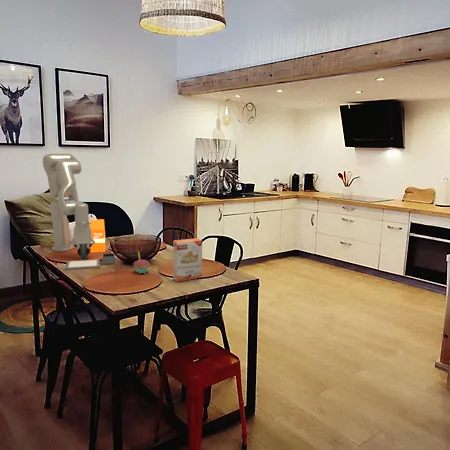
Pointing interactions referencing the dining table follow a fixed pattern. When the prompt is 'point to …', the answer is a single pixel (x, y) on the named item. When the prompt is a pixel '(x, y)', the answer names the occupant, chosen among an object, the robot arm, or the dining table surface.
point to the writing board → (82, 264)
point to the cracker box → (187, 259)
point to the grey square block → (108, 258)
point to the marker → (83, 251)
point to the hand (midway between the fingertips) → (83, 254)
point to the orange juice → (98, 235)
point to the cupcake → (141, 265)
